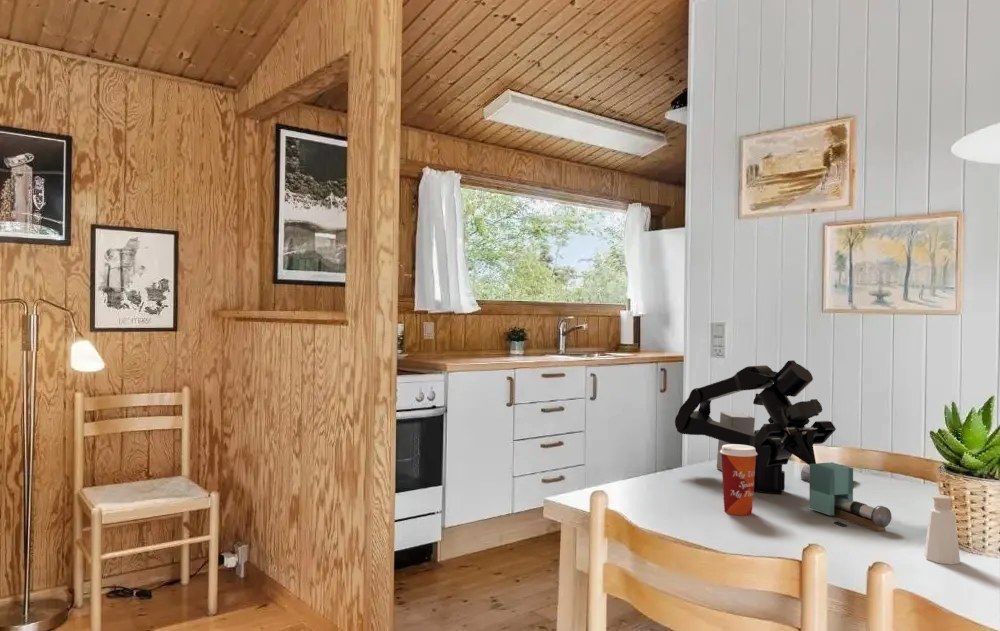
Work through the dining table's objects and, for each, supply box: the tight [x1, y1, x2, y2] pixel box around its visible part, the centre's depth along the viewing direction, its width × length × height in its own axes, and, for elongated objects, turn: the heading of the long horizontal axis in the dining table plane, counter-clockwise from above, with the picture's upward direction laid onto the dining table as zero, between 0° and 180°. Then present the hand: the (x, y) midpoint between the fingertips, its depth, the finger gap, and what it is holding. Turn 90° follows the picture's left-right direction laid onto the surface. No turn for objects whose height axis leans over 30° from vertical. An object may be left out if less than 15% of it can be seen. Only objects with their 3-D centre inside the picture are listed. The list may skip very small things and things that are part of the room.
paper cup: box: [720, 444, 757, 517], centre depth 154 cm, size 8×8×14 cm
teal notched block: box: [808, 461, 854, 516], centre depth 154 cm, size 6×6×10 cm
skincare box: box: [716, 411, 756, 472], centre depth 193 cm, size 8×7×16 cm
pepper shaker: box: [923, 494, 961, 566], centre depth 124 cm, size 5×5×11 cm
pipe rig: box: [833, 495, 892, 532], centre depth 149 cm, size 18×11×5 cm, turn 17°
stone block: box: [800, 463, 850, 482], centre depth 184 cm, size 12×5×10 cm
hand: (813, 464), depth 159 cm, fingers closed
